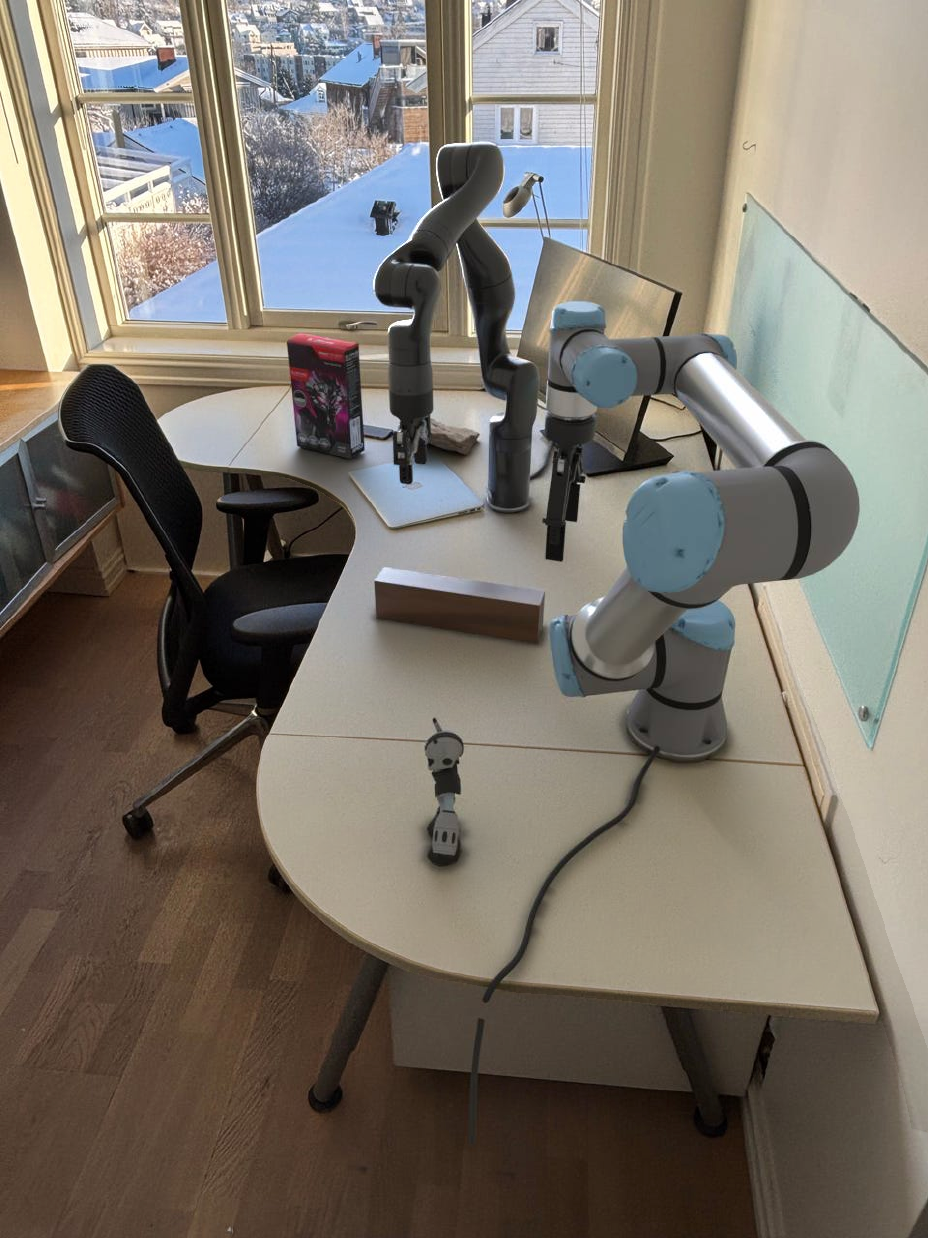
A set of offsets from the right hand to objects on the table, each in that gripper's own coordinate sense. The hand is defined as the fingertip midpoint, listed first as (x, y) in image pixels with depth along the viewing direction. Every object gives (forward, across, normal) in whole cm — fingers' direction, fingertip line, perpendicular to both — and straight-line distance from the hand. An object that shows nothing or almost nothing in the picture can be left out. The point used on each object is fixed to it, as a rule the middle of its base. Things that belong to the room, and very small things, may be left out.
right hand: (561, 539), depth 148 cm
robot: (+23, -47, +6) cm, 52 cm away
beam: (+22, +4, +18) cm, 29 cm away
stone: (+22, +81, +46) cm, 96 cm away
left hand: (-1, +15, +30) cm, 33 cm away
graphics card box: (+22, +70, +70) cm, 102 cm away
